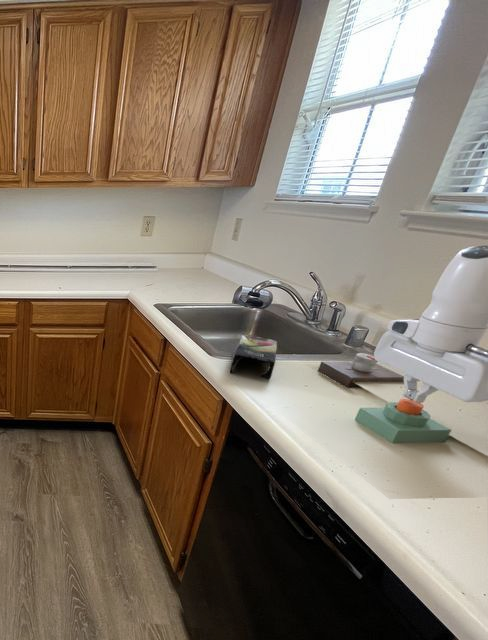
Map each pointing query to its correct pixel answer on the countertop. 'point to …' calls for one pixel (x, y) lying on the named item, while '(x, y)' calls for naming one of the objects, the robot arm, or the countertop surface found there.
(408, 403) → the orange button cap
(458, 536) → the countertop surface
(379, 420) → the green stepped block
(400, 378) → the panel
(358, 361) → the lock knob
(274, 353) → the dark boxy piece
